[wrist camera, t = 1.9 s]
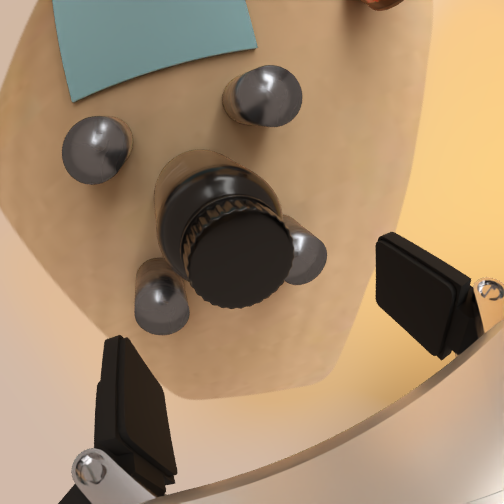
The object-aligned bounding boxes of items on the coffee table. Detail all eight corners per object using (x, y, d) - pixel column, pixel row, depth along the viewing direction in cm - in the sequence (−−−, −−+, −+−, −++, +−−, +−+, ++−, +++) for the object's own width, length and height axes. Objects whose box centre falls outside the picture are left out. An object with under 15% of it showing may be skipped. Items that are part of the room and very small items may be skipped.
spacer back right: (252, 223, 25) (274, 247, 21) (295, 208, 26) (324, 229, 22) (262, 262, 27) (283, 292, 23) (301, 248, 28) (329, 273, 24)
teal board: (51, -20, 11) (50, -22, 10) (222, -65, 13) (224, -68, 13) (73, 102, 17) (72, 102, 16) (255, 48, 19) (257, 47, 18)
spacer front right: (216, 80, 19) (233, 71, 15) (267, 70, 20) (295, 61, 16) (229, 129, 21) (248, 133, 17) (277, 118, 22) (307, 120, 18)
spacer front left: (74, 129, 18) (53, 133, 13) (124, 108, 18) (115, 105, 14) (91, 178, 20) (75, 194, 15) (139, 158, 20) (135, 169, 16)
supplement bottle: (174, 246, 24) (195, 348, 14) (141, 168, 20) (127, 222, 10) (251, 214, 25) (324, 291, 15) (227, 135, 21) (297, 156, 11)
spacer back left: (128, 267, 23) (125, 301, 19) (172, 251, 24) (177, 282, 20) (147, 304, 25) (148, 341, 21) (188, 289, 26) (197, 324, 22)
